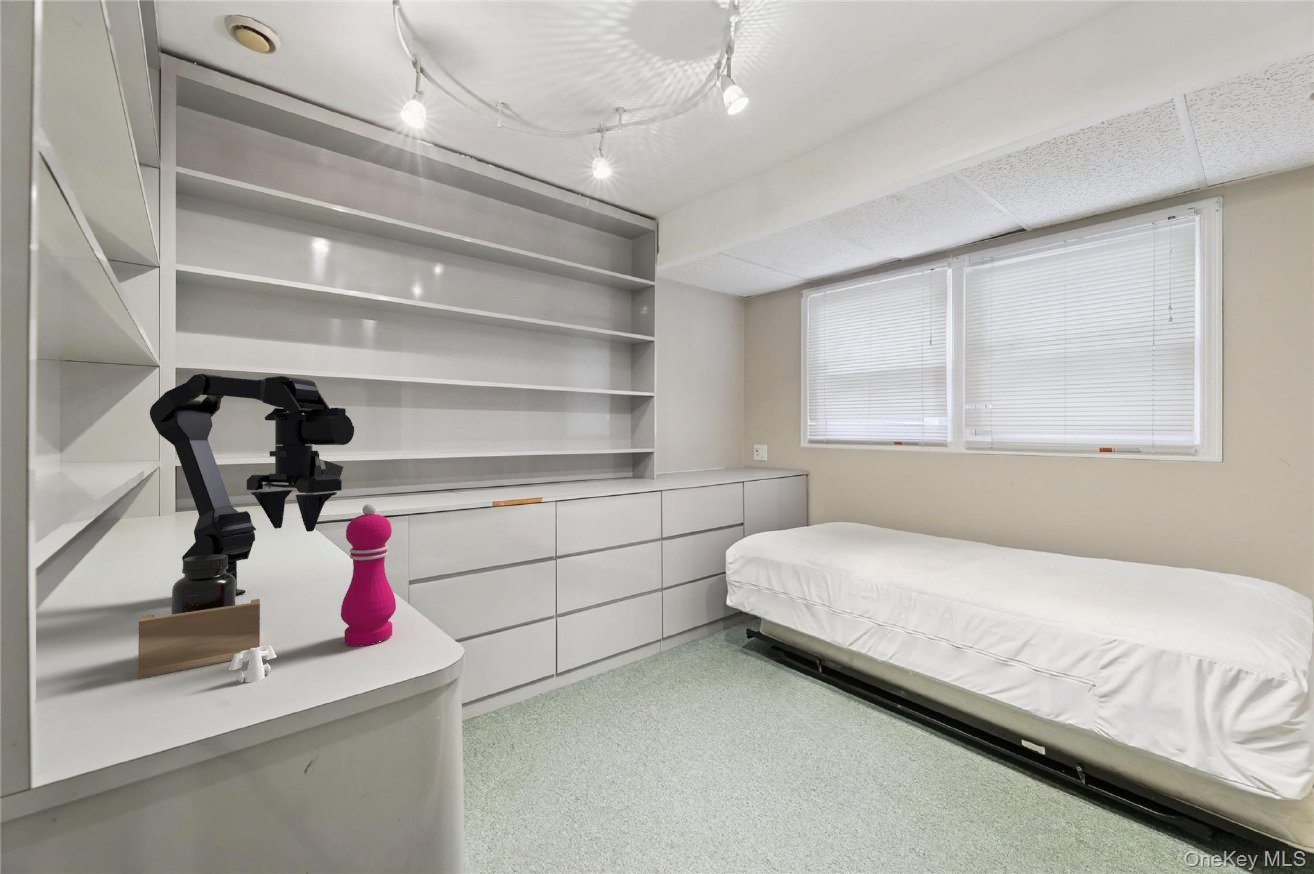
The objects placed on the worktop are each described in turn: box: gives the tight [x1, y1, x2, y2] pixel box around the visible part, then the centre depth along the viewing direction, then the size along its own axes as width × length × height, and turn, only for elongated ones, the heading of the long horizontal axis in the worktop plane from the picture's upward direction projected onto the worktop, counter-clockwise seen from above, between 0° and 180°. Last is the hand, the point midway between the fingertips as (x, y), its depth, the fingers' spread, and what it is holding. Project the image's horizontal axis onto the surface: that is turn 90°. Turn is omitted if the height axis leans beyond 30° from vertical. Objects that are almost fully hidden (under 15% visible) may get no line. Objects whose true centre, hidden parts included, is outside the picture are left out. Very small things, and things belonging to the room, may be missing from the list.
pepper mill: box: [340, 503, 397, 647], centre depth 79 cm, size 7×7×20 cm
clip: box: [227, 644, 277, 684], centre depth 66 cm, size 5×2×4 cm, turn 146°
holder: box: [137, 598, 261, 679], centre depth 74 cm, size 11×12×7 cm
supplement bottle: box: [170, 554, 237, 615], centre depth 74 cm, size 7×7×12 cm
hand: (293, 529), depth 98 cm, fingers open, 9 cm apart
